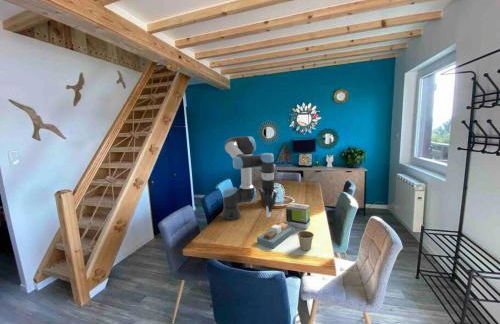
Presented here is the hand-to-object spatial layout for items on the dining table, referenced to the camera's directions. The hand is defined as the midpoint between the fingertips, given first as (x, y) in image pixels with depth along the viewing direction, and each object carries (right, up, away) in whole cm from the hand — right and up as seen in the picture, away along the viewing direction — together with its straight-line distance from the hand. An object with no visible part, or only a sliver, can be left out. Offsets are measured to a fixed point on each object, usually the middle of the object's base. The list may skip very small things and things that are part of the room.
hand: (268, 216), depth 146 cm
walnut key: (+1, -15, +2) cm, 15 cm away
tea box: (+24, -13, +27) cm, 38 cm away
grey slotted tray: (+6, -16, +8) cm, 19 cm away
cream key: (+6, -12, +8) cm, 16 cm away
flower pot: (+21, -18, -5) cm, 28 cm away
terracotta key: (+11, -13, +14) cm, 22 cm away
